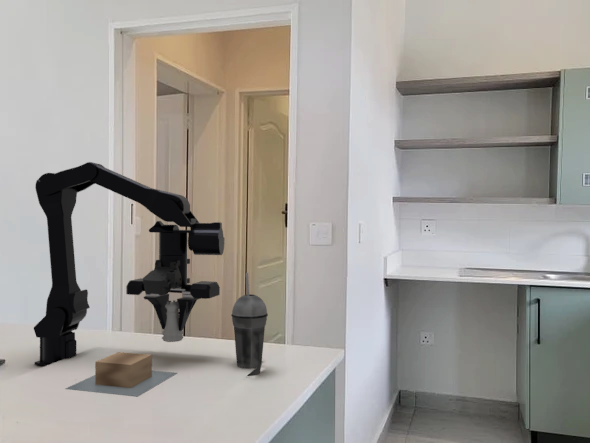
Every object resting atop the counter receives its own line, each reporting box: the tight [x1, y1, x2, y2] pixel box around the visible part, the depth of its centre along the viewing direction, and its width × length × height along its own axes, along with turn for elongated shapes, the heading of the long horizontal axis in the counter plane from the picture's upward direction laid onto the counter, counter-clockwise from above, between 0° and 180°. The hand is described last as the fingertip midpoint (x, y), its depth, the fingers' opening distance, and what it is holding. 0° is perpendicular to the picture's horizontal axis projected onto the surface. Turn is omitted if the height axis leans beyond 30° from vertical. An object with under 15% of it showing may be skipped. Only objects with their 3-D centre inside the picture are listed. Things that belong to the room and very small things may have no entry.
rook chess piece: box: [161, 299, 184, 343], centre depth 113 cm, size 4×4×8 cm
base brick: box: [94, 351, 153, 388], centre depth 98 cm, size 7×7×4 cm
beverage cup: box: [231, 272, 268, 377], centre depth 109 cm, size 7×7×20 cm
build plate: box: [64, 370, 178, 398], centre depth 98 cm, size 14×14×2 cm
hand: (172, 329), depth 113 cm, fingers closed on rook chess piece, 3 cm apart
